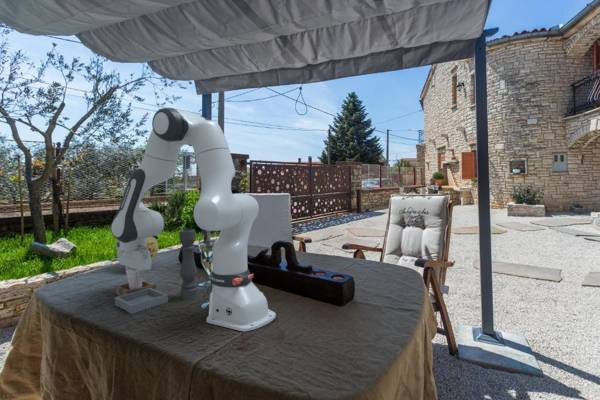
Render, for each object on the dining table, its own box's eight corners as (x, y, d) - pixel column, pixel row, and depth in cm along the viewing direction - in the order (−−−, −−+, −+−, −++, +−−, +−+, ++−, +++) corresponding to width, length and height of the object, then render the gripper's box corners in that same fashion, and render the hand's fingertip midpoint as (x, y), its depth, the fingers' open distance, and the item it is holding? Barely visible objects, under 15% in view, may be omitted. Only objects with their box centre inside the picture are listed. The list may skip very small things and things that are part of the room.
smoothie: (148, 290, 128) (146, 255, 127) (138, 296, 122) (137, 259, 121) (133, 289, 129) (131, 255, 128) (122, 295, 122) (121, 259, 121)
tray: (167, 302, 115) (167, 294, 115) (131, 314, 105) (131, 305, 105) (150, 294, 123) (150, 287, 123) (115, 305, 113) (114, 297, 113)
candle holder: (177, 298, 119) (174, 231, 117) (189, 293, 124) (187, 229, 123) (189, 301, 116) (186, 232, 114) (201, 295, 121) (199, 230, 120)
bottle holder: (156, 291, 126) (156, 284, 126) (127, 300, 118) (127, 292, 117) (143, 286, 133) (142, 279, 133) (115, 294, 124) (114, 286, 124)
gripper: (155, 245, 120) (156, 281, 121) (130, 239, 133) (131, 272, 134) (138, 248, 115) (139, 286, 116) (113, 242, 128) (115, 276, 129)
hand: (135, 278), depth 125 cm, fingers closed on smoothie, 6 cm apart
